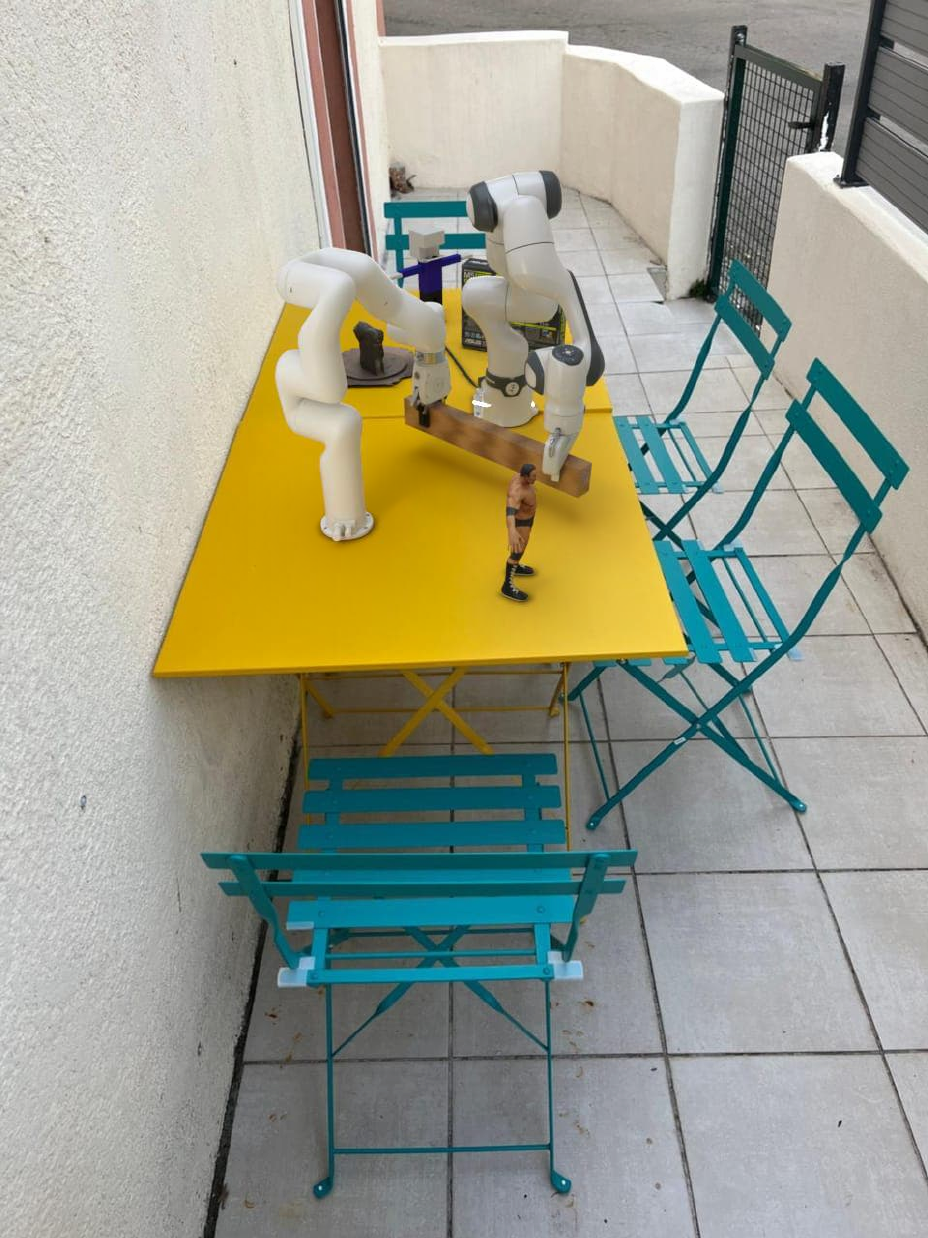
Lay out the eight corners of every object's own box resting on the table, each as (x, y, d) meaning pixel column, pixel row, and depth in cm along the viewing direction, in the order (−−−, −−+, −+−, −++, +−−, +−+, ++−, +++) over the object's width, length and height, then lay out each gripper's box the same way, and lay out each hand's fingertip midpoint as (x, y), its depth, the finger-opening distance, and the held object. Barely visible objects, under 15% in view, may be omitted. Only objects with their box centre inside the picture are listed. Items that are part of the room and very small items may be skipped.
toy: (460, 304, 319) (459, 216, 299) (477, 312, 313) (477, 222, 294) (381, 329, 302) (375, 237, 283) (398, 337, 296) (393, 244, 277)
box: (565, 354, 285) (571, 269, 268) (558, 363, 280) (563, 277, 263) (468, 339, 295) (468, 256, 278) (460, 347, 290) (459, 264, 272)
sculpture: (406, 397, 263) (403, 345, 252) (297, 384, 270) (290, 333, 259) (437, 352, 287) (436, 303, 277) (336, 341, 294) (331, 293, 284)
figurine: (524, 621, 184) (530, 498, 165) (494, 617, 185) (497, 494, 166) (540, 553, 202) (547, 435, 183) (512, 550, 203) (516, 432, 184)
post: (404, 424, 234) (403, 397, 229) (416, 418, 237) (416, 392, 232) (577, 498, 206) (580, 470, 201) (588, 490, 208) (592, 462, 204)
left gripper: (417, 369, 212) (419, 438, 223) (464, 349, 222) (463, 416, 233) (394, 360, 216) (398, 429, 227) (442, 341, 226) (443, 407, 237)
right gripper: (564, 443, 191) (560, 497, 200) (587, 401, 206) (583, 453, 215) (536, 438, 193) (534, 492, 202) (561, 397, 208) (558, 449, 217)
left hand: (431, 421), depth 230 cm, fingers closed on post, 4 cm apart
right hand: (559, 472), depth 209 cm, fingers closed on post, 5 cm apart
